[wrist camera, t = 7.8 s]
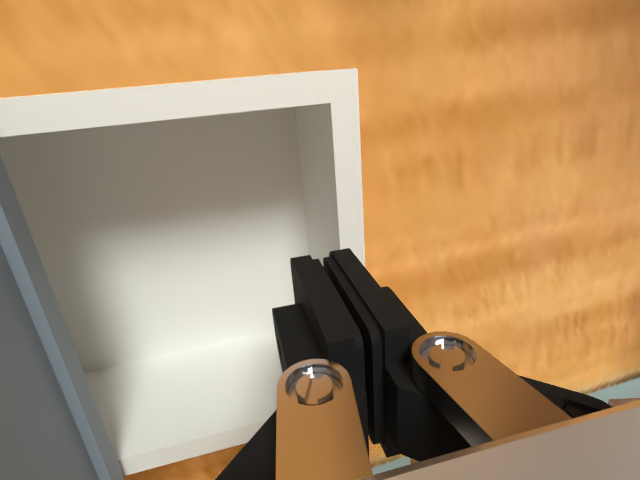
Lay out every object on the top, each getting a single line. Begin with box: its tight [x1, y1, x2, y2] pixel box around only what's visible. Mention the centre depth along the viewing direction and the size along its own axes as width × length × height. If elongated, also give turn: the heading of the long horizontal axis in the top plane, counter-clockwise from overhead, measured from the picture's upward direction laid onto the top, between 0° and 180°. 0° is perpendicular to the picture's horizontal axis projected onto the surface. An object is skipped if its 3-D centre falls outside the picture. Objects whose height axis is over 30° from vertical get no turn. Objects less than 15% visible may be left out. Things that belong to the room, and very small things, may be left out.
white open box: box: [0, 68, 365, 476], centre depth 14 cm, size 14×12×6 cm
